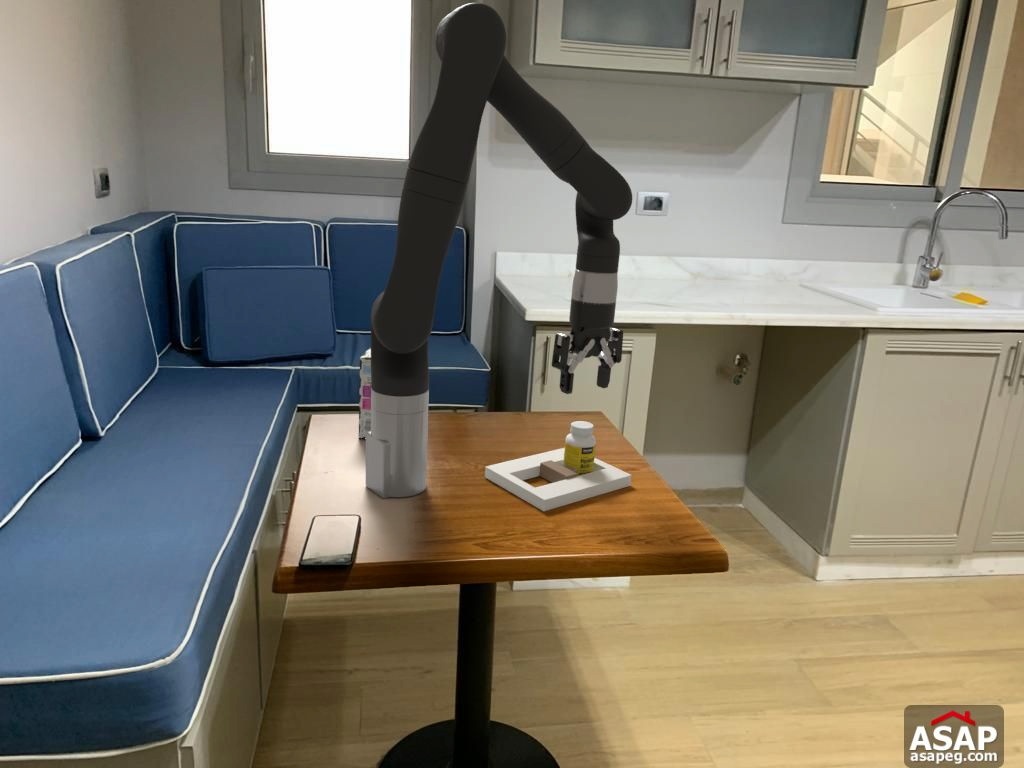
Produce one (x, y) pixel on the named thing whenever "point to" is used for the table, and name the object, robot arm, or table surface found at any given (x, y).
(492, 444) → the table surface
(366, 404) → the candy bar box
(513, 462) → the white frame
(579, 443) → the supplement bottle
